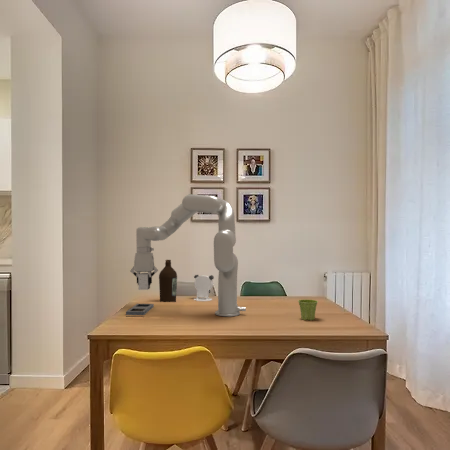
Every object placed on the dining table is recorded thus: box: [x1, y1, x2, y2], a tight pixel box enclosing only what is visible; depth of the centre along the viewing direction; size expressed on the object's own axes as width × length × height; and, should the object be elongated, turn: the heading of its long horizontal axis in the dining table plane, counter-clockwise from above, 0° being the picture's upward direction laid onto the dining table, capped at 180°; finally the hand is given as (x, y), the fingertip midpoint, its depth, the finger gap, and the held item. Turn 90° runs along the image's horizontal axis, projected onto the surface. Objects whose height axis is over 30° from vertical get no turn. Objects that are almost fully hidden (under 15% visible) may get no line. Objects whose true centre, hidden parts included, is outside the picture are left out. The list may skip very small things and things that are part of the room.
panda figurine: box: [193, 274, 215, 302], centre depth 250 cm, size 12×11×15 cm
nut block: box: [137, 272, 151, 291], centre depth 216 cm, size 5×5×8 cm
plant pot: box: [297, 299, 319, 321], centre depth 196 cm, size 9×9×9 cm
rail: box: [125, 303, 154, 318], centre depth 210 cm, size 9×22×2 cm, turn 178°
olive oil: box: [158, 259, 178, 303], centre depth 240 cm, size 11×11×25 cm
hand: (144, 284), depth 216 cm, fingers closed on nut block, 5 cm apart
